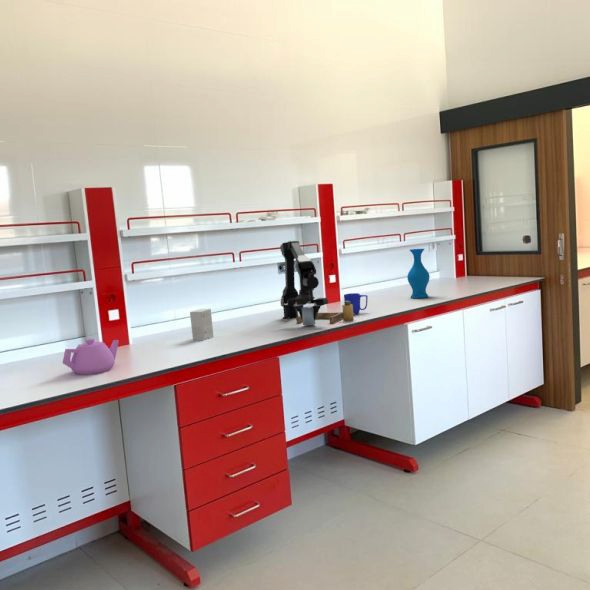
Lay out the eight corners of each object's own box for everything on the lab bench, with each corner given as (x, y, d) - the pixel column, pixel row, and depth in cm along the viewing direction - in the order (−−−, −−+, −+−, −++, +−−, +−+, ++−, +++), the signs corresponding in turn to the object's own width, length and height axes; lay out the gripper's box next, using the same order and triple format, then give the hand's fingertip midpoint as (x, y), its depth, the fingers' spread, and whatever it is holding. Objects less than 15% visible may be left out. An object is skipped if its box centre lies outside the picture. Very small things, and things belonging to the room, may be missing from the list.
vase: (426, 299, 345) (423, 249, 342) (405, 299, 352) (402, 250, 348) (433, 296, 355) (431, 248, 352) (412, 296, 362) (410, 248, 358)
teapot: (74, 380, 215) (70, 346, 214) (56, 374, 226) (52, 342, 225) (130, 366, 230) (127, 335, 229) (111, 361, 241) (107, 332, 240)
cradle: (296, 323, 297) (296, 317, 296) (308, 318, 309) (308, 312, 309) (332, 323, 288) (332, 317, 288) (343, 318, 301) (343, 312, 301)
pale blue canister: (300, 325, 286) (299, 308, 285) (308, 321, 294) (307, 305, 293) (312, 325, 283) (311, 308, 282) (319, 321, 291) (318, 305, 290)
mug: (367, 314, 308) (366, 294, 307) (344, 315, 311) (342, 295, 310) (369, 311, 316) (367, 292, 315) (346, 312, 319) (344, 293, 318)
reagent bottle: (341, 321, 293) (340, 302, 292) (345, 319, 298) (344, 300, 297) (351, 321, 291) (350, 302, 290) (355, 319, 296) (353, 300, 294)
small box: (202, 336, 282) (199, 308, 280) (213, 336, 279) (211, 308, 278) (192, 340, 274) (189, 311, 273) (204, 340, 272) (201, 311, 270)
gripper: (280, 289, 282) (283, 322, 284) (317, 288, 274) (320, 323, 276) (291, 286, 292) (293, 318, 294) (327, 285, 284) (329, 318, 286)
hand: (308, 319), depth 287 cm, fingers closed on pale blue canister, 6 cm apart
